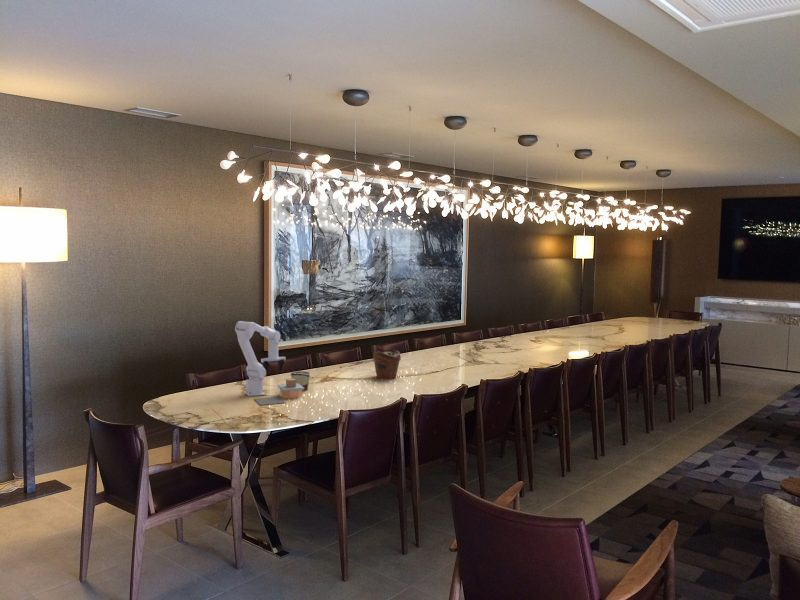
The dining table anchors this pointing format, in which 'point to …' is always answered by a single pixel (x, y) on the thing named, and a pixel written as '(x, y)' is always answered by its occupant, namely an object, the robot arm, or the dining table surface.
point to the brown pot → (386, 363)
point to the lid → (290, 385)
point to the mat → (269, 401)
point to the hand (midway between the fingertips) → (273, 373)
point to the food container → (301, 378)
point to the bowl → (291, 394)
